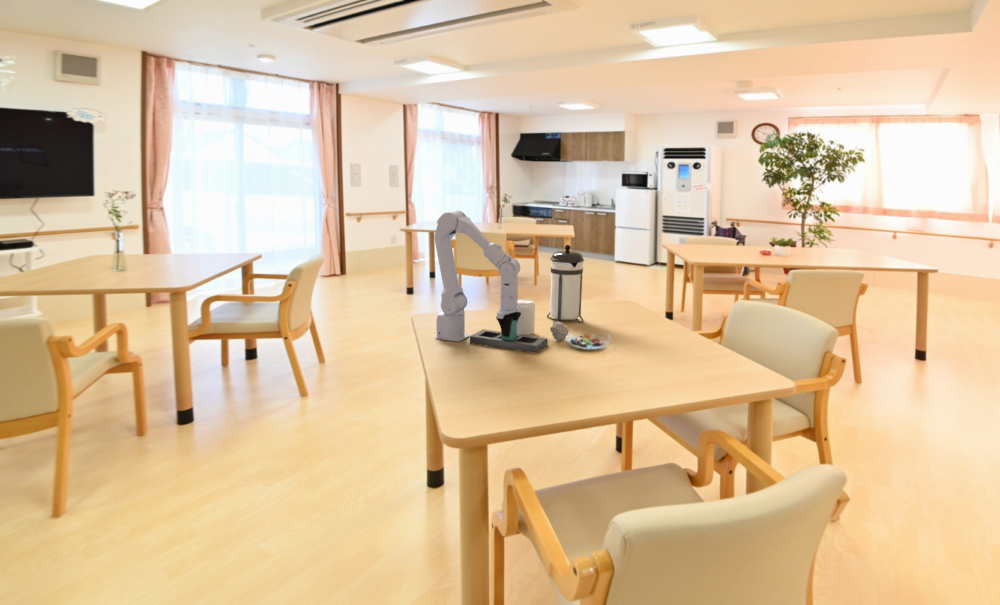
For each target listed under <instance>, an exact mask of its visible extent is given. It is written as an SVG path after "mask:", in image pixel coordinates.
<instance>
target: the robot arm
mask: <svg viewBox="0 0 1000 605" xmlns="http://www.w3.org/2000/svg"><path fill="white" fill-rule="evenodd" d="M436 223H437V225H436V229H435V233H434V244H435V248H436V249H435V250H436V253H437V259H438V265H439V270H440V275H441V281H442V285H443V289H442V291H441V295H440V296H441V301H440V302H441V303H440V308H441V310H442V311H440V312H439V313H438V315H437V317H436V336H435V339H437V340H445V341H451V342H456V343H459V342H461V341H463V340H465V339H467V338H468V337H469V338H470V335H469V334H466V333H465V331H466V329H465V319H466V318H465V316H466V315H465V308H466V307H467V306H468V298H467V296H466V294H465V293H464V289H463V287H462V286H461V285H460V283H459V277H458V273H457V272H458V271H457V268H456V267H457V266H456V262H455V257H454V256H455V255H454V251H453V250H454V249H453V245H452V239H453V238H454V237H455V235H456V234H457V233H458V234H464V235H465V234H466V235H467V236H468V237H469V239H471V240H472V241H473V242H474V243H476V244H477V245H478V246H479V247H480V248H481V249H482V250H483V256H484V257H485V258H486V259H487V260H488V261H489V262H490V263H491V264H492V265H493V266H494V267H495V268H496V269H498V270H497V272H498V275H499V276H500V308H499V310H498V311H497V312H496V317H495V319H496V320H497V322H498V324H499V327H500V332H501V331H502V335H503V336H505V337H509V334H510V327H511V323H512V320H517V322H518V319H519V317H520V315H521V312H520V311H521V309H520V304H517V302H518V299H519V298H518V296H519V292H518V291H519V281H518V280H519V273H520V271H521V264H520V263H519V261H518V260H517V259H516V258H512V255H510V254H508V253H507V252H506V251H505V250H504V249H503V248H502V247H503V246H502V245H501V244H500V243H499V244H498V243H496V242H491V241H490V240H489V239H488V238H487V236H485V235H484V234H483V232H482V231H481V230H480V229H479V228H478V227H477V226H476V224H474V222H473V221H472V219H471V218H470V217H468V215H467V216H466V214H465V213H464V212H463V211H461V210H455V211H450V212H444V213H442V214H441V215H440V217H438V219H437V220H436Z"/></svg>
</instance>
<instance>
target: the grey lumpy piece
mask: <svg viewBox="0 0 1000 605" xmlns="http://www.w3.org/2000/svg"><path fill="white" fill-rule="evenodd" d="M550 332H551V333H552V334H551V336H552V337H553V338H554V340H555V341H556V342H563V341H564V340H566V339H567V337H568V336H569V335H568V334H569V332H570V331H569V327H568V326H567V325H565V324H563V322H562V321H561V322H556V321H553V323H552V326H551V327H550ZM566 336H567V337H566Z"/></svg>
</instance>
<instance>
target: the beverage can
mask: <svg viewBox="0 0 1000 605" xmlns="http://www.w3.org/2000/svg"><path fill="white" fill-rule="evenodd" d="M534 302H535V301H534V300H532V299H528V298H518V302H517V304H520V309H521V311H520V312H521V315H520V317H519V319H518V322H517V334H520V335H527V336H532V335H533V334H534V333H535V319H536V318H535V316H536V315H535V314H536V304H535V303H534Z"/></svg>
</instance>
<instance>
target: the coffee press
mask: <svg viewBox="0 0 1000 605" xmlns="http://www.w3.org/2000/svg"><path fill="white" fill-rule="evenodd" d="M564 249H565V250H558V251H556V252H554V253H553V254H552V255H551V257H550V261H551V267H550V302H549V303H550V304H549V313H548V314H547V316H546V317H547V319H551V318H553V319H556V321H555V322H561V323H562V321H563V320H564V321H572V320H576V321H577V322H578V323H579V324H582V323H583V322H584V319H583V317H582V295H583V294H582V292H583V273H584V267H583V264H584V261H585V258H584V256H583V254H582V253H580V252H578V251H574V250H571V245H570V244H566V245H565V246H564ZM549 317H550V318H549ZM579 318H580V319H579Z"/></svg>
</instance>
